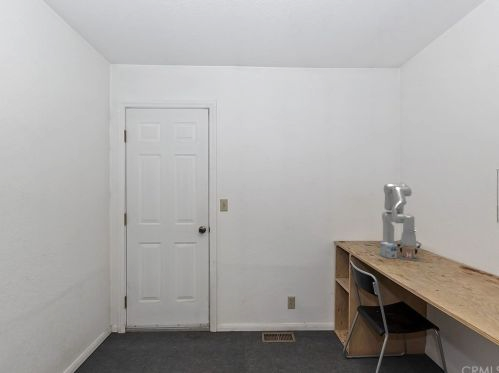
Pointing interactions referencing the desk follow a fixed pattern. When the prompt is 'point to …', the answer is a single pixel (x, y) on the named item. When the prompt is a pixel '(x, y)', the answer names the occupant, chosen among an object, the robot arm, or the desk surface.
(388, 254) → the light bulb box
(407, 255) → the reddish brown cube
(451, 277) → the desk surface
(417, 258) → the blue-gray flat panel
